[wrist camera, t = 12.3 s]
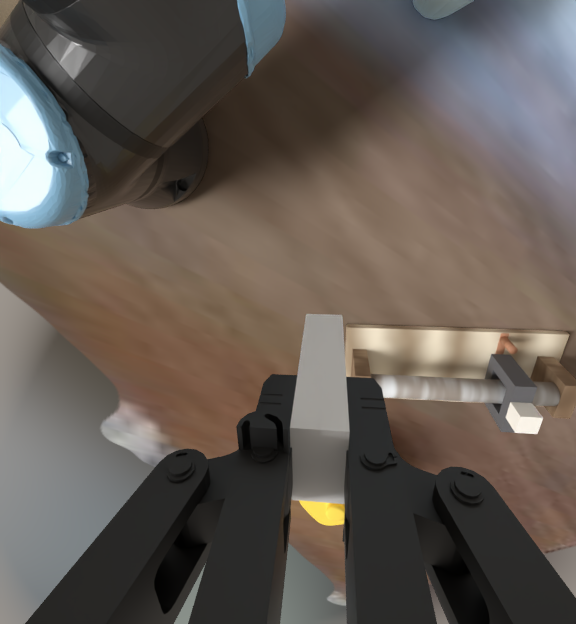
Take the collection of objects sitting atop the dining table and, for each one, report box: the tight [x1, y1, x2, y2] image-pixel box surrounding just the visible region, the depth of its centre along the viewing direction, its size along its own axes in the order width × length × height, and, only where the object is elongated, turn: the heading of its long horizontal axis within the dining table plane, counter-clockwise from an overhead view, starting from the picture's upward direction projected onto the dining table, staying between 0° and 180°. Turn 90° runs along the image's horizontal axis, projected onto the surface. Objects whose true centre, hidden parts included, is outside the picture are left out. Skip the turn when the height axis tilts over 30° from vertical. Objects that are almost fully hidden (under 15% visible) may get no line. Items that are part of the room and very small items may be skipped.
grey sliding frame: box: [485, 354, 543, 434], centre depth 45 cm, size 2×7×10 cm, turn 1°
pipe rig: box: [345, 324, 576, 419], centre depth 48 cm, size 29×12×8 cm, turn 91°
